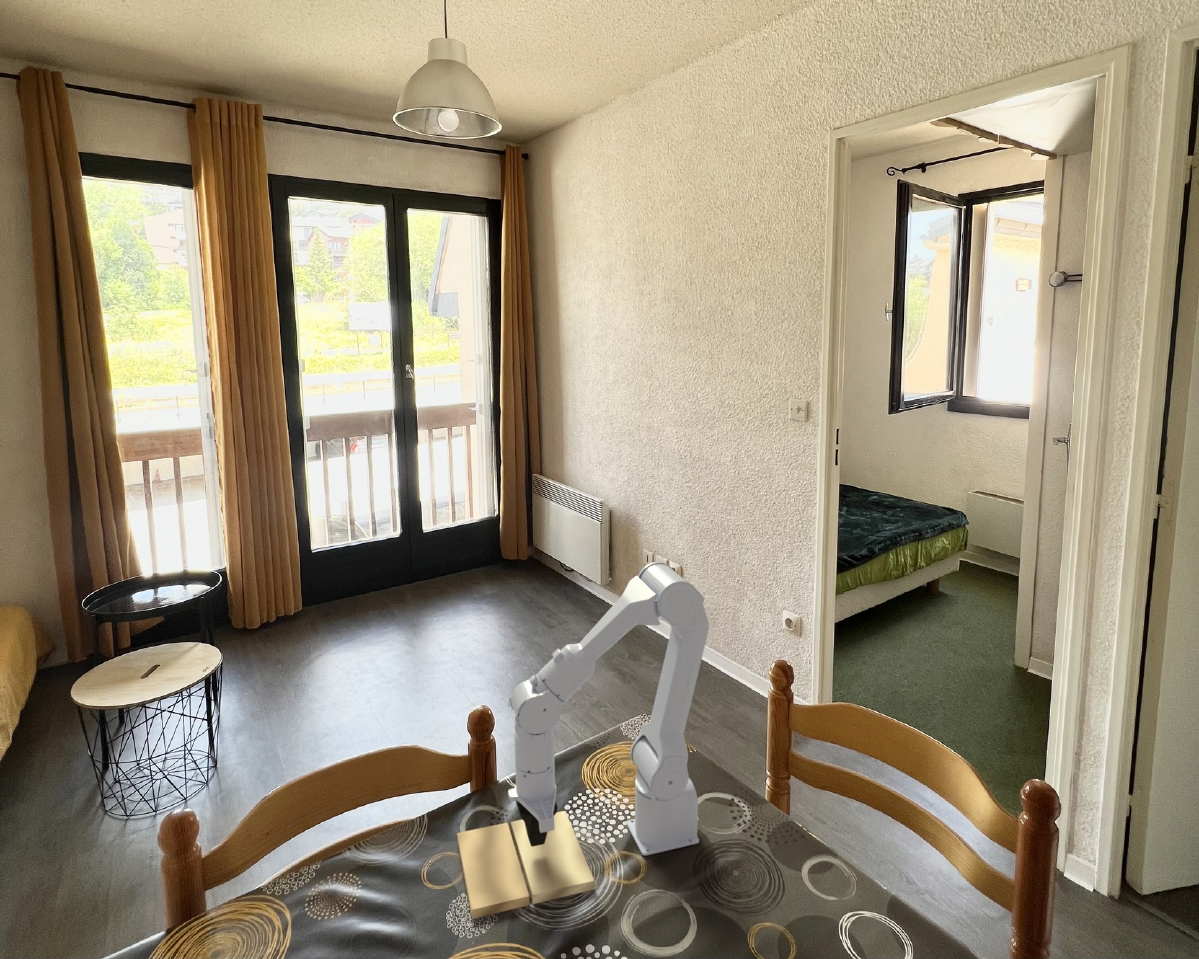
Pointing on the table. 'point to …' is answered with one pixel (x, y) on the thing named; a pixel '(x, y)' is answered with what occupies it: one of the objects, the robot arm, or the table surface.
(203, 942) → the table surface
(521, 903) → the laid oak board
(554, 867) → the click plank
